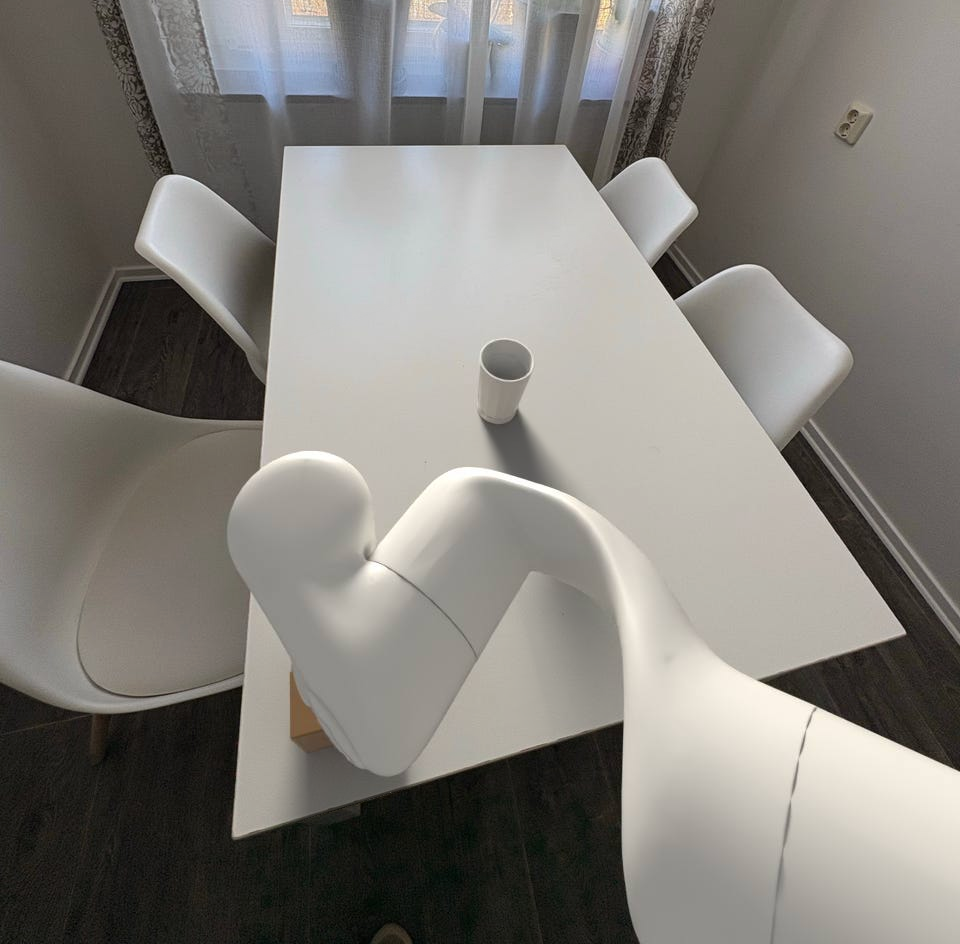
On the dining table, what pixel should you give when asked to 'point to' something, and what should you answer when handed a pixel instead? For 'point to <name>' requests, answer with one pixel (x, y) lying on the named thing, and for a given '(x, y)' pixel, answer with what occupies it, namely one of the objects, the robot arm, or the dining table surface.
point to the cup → (502, 379)
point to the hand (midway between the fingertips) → (345, 650)
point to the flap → (300, 713)
